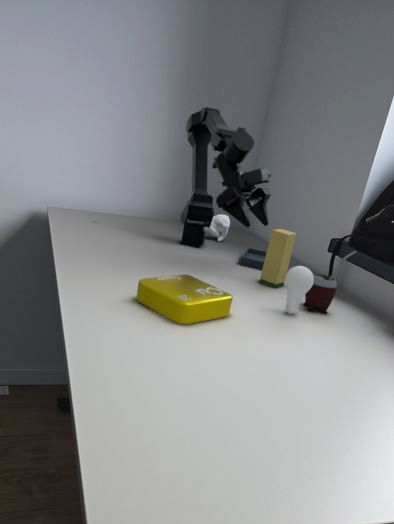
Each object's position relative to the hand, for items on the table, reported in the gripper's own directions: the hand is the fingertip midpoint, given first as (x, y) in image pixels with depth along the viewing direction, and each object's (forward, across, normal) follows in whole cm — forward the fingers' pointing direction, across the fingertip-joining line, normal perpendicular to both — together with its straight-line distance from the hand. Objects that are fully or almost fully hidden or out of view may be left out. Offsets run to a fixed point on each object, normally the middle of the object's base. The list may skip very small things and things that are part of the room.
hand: (258, 225), depth 129 cm
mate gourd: (+27, -7, -7) cm, 29 cm away
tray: (+6, +17, +13) cm, 22 cm away
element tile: (+15, -38, +4) cm, 41 cm away
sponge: (+15, 0, +4) cm, 16 cm away
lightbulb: (+25, -16, -6) cm, 31 cm away
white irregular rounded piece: (-13, +26, +32) cm, 43 cm away
